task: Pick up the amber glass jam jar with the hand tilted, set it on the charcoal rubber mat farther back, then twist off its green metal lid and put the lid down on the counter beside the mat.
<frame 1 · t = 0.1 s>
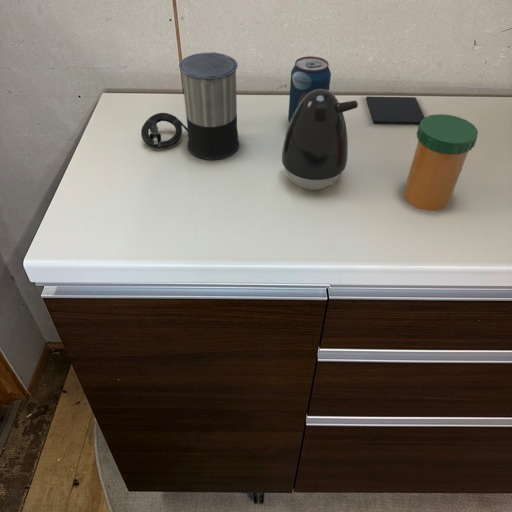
pump dispenser: (312, 180, 77), on the cabinet
jar lid: (447, 130, 66), point 12 cm above the cabinet, screwed on, not yet turned
soda can: (306, 127, 89), on the cabinet
mat: (394, 111, 93), on the cabinet
jar: (426, 196, 74), on the cabinet
milk frother: (191, 145, 85), on the cabinet
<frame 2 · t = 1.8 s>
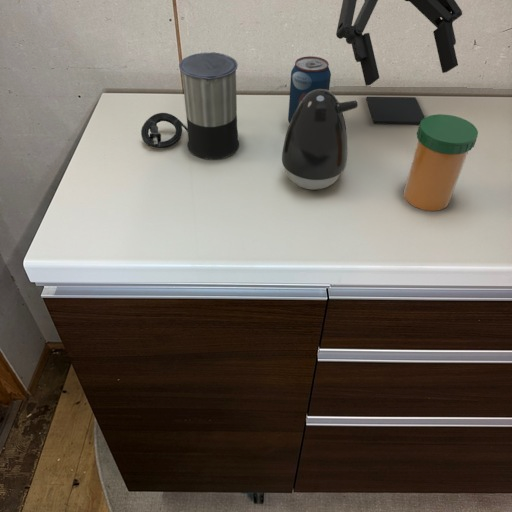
hand: (412, 75, 70), 15 cm above the cabinet, tool tilted 45°, fingers open, 13 cm apart
nothing on the cabinet moved.
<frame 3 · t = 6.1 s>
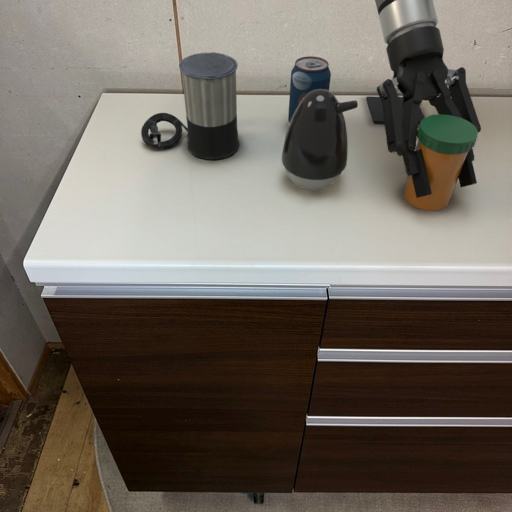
hand: (446, 190, 69), 4 cm above the cabinet, tool tilted 45°, fingers closed on jar, 7 cm apart
jar: (426, 196, 74), on the cabinet, touching gripper
everything else where it was.
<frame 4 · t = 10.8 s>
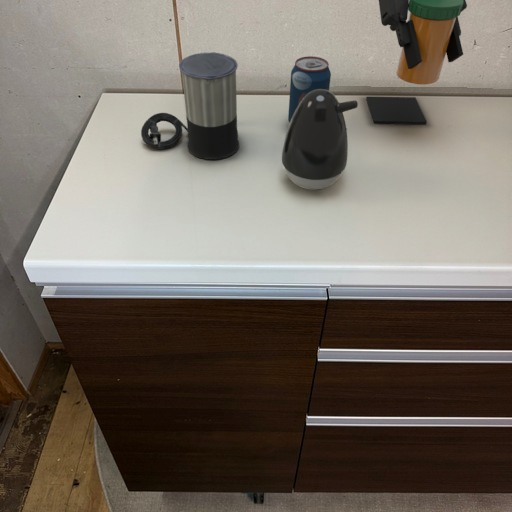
hand: (435, 61, 75), 14 cm above the cabinet, tool tilted 45°, fingers closed on jar, 7 cm apart
jar lid: (436, 1, 72), point 22 cm above the cabinet, screwed on, not yet turned
jar: (417, 75, 80), point 11 cm above the cabinet, touching gripper
everything else where it was.
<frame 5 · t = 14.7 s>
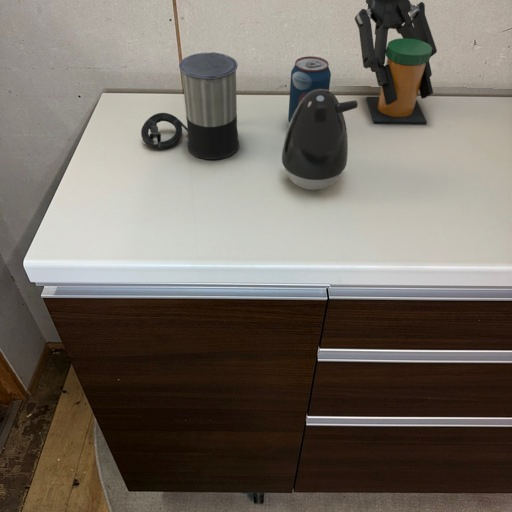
hand: (409, 98, 88), 4 cm above the cabinet, tool tilted 45°, fingers closed on jar, 7 cm apart
jar lid: (409, 48, 85), point 12 cm above the cabinet, screwed on, not yet turned
jar: (395, 108, 93), point 1 cm above the cabinet, touching gripper, mat
everything else where it was.
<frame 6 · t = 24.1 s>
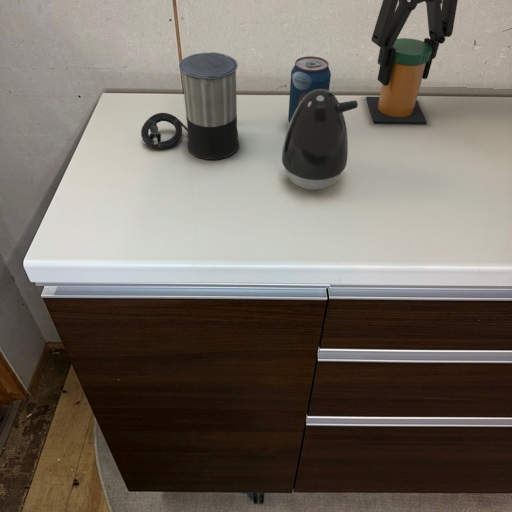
hand: (402, 79, 89), 7 cm above the cabinet, tool pointing down, fingers closed on jar lid, 8 cm apart
jar lid: (409, 48, 85), point 12 cm above the cabinet, screwed on, not yet turned, touching gripper
jar: (395, 108, 93), point 1 cm above the cabinet, touching mat
everything else where it was.
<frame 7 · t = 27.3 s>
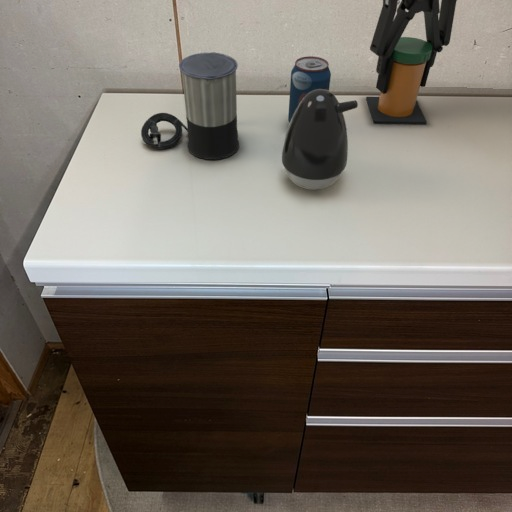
hand: (400, 86, 90), 5 cm above the cabinet, tool pointing down, fingers closed on jar lid, 8 cm apart
jar lid: (409, 47, 85), point 12 cm above the cabinet, turned 80° so far, risen 0.2 cm, still on its thread, touching gripper
everything else where it was.
when the fingers open (0 cm above the cabinet, at t = 33.1 s): jar lid drops 6 cm, point 1 cm above the cabinet.
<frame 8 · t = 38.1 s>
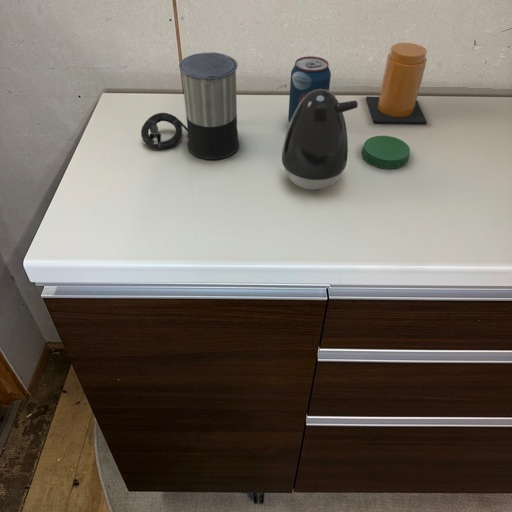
jar lid: (386, 149, 81), point 1 cm above the cabinet, off its thread
everything else where it was.
at the end: jar inside the target area on the mat (0.1 cm from its centre), point 0.6 cm above the mat's base; jar lid came off its thread; jar lid point 1.4 cm above the cabinet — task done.
